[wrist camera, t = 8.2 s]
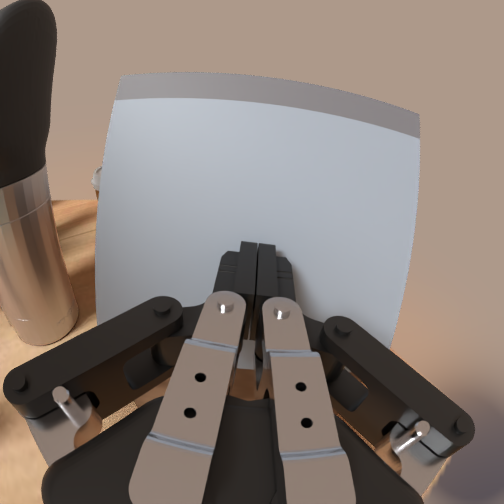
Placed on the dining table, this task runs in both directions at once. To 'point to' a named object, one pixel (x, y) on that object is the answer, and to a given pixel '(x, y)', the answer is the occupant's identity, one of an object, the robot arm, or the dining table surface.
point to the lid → (257, 193)
